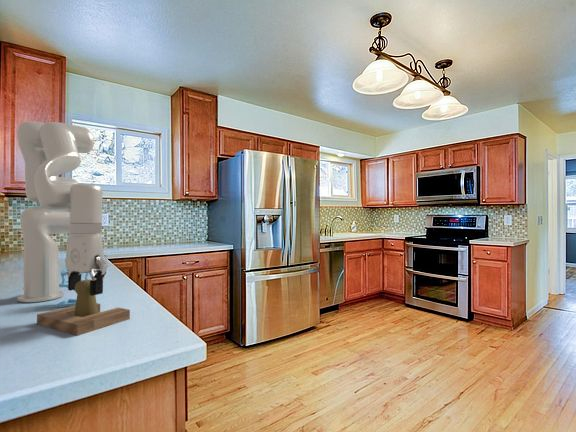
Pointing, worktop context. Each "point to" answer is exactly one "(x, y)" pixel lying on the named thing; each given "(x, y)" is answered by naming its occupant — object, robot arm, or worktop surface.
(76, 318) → the notched board
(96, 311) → the cork
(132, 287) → the worktop surface
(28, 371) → the worktop surface
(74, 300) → the chair
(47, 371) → the worktop surface
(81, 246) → the robot arm
